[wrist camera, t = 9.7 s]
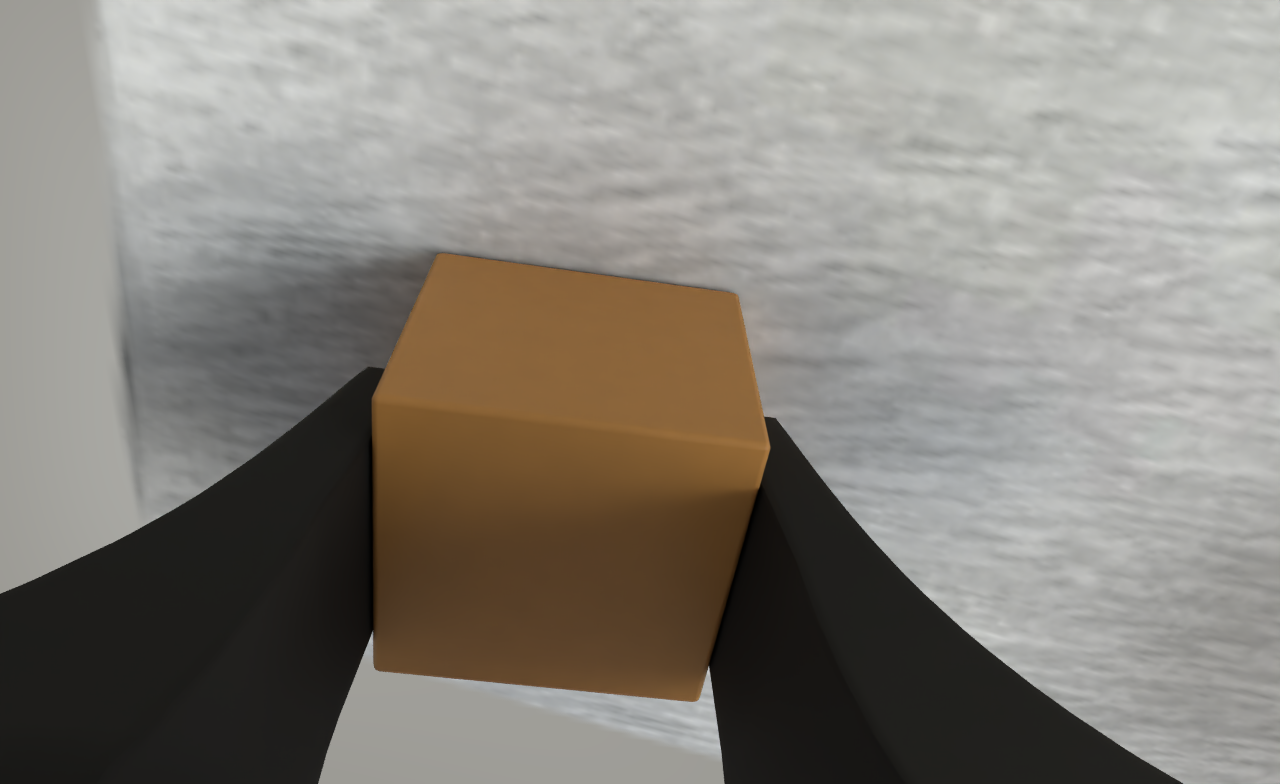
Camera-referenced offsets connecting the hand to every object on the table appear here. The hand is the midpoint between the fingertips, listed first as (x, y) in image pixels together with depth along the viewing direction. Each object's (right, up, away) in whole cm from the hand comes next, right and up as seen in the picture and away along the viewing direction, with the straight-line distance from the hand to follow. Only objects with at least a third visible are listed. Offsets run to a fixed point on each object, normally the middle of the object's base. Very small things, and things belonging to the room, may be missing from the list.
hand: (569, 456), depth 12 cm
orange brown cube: (0, +1, +1) cm, 1 cm away
